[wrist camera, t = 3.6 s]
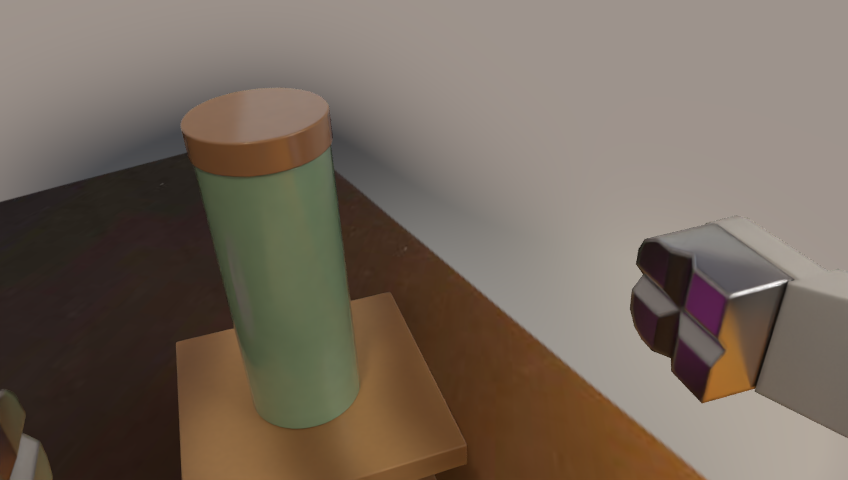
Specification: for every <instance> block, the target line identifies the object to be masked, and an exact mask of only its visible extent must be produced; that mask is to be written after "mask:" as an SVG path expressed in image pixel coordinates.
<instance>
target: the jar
mask: <svg viewBox="0 0 848 480" xmlns="http://www.w3.org/2000/svg"><path fill="white" fill-rule="evenodd" d="M181 130H182V134H183V138H184V142H185V146H186V150H187V154H188V158H189V160H190V162H191V163H192V164H193V166H194V170H195V174H196V178H197V182H198V186H199V190H200V194H201V198H202V202H203V206H204V210H205V214H206V218H207V222H208V226H209V230H210V234H211V238H212V242H213V246H214V250H215V254H216V258H217V262H218V266H219V270H220V274H221V278H222V282H223V286H224V290H225V294H226V298H227V302H228V306H229V310H230V314H231V318H232V322H233V326H234V330H235V334H236V338H237V342H238V346H239V351H240V355H241V359H242V363H243V367H244V371H245V375H246V379H247V383H248V387H249V391H250V395H251V399H252V403H253V406H254V408H255V410H256V412H257V413H258V414H259V415H260V416H261V417H262V418H263V419H264V420H266V421H267V422H269V423H271V424H273V425H276V426H279V427H283V428H289V429H304V428H311V427H315V426H319V425H322V424H325V423H327V422H329V421H331V420H333V419H335V418H337V417H338V416H340V415H341V414H342V413H344V412H345V411H346V410H347V409H348V408H349V407H350V406H351V405H352V404H353V402H354V401H355V399H356V397H357V395H358V393H359V389H360V383H361V382H360V372H359V364H358V356H357V349H356V341H355V333H354V325H353V317H352V309H351V301H350V293H349V285H348V277H347V269H346V261H345V253H344V245H343V237H342V229H341V221H340V213H339V205H338V197H337V189H336V181H335V173H334V166H333V157H332V149H331V143H332V139H333V134H332V126H331V118H330V110H329V105H328V103H327V101H326V100H325V99H324V98H322V97H321V96H319V95H317V94H315V93H312V92H309V91H304V90H299V89H290V88H261V89H252V90H245V91H239V92H235V93H230V94H227V95H223V96H220V97H216V98H214V99H211V100H208V101H206V102H204V103H202V104H200V105H198V106H196V107H195V108H193V109H191V110H190V111H189V112H188V113H187V114H186V115H185V116H184V117H183V119H182V121H181Z"/></svg>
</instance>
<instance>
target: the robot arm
mask: <svg viewBox="0 0 848 480" xmlns="http://www.w3.org/2000/svg"><path fill="white" fill-rule="evenodd" d="M636 265H637V266H638V268H639V269H640V270H641V272H642V273H643V275H642V277H641V278H640V279H639V281H638V282H637V284H636V285H635V286H634V288H633V289H632V294H631V304H630V310H631V314H632V318H633V323H634V326H635V328H636V330H637V332H638V334H639V336H640V337H641V339H642V340H643V341H644V342H645V344H646V345H647V346H648V347H649V348H650V349H651V350H652V351H654V352H657V353H659V354H662V355H664V356H667V357H669V358H671V371H672V372H673V374H674V375H675V376H676V377H678V379H679V380H680V381H681V382H682V383H683V384H684V385H685V386H686V387H687V388H688V389H689V390H690V391H691V392H692V393H693V394H694V395H695V396H696V397H697V399H698V400H699V401H700V402H701V403H705V402H709V401H712V400H716V399H719V398H723V397H726V396H730V395H733V394H737V393H741V392H744V391H748V390H751V389H755V388H756V389H755V392H757V393H759V394H761V395H763V396H765V397H767V398H769V399H771V400H773V401H775V402H777V403H779V404H781V405H783V406H785V407H787V408H789V409H791V410H793V411H795V412H797V413H799V414H801V415H803V416H805V417H807V418H809V419H811V420H813V421H815V422H817V423H819V424H821V425H823V426H825V427H827V428H829V429H831V430H833V431H835V432H837V433H839V434H841V435H843V436H845V437H847V438H848V272H847V271H844V270H840V269H836V270H832V271H828V270H826V269H825V268H823V267H821V266H820V265H818V264H817V263H815V262H814V261H812V260H811V259H809V258H808V257H806V256H805V255H803V254H801V253H800V252H799V251H797V250H796V249H794V248H793V247H791V246H790V245H788V244H787V243H785V242H784V241H782V240H780V239H779V238H777V237H776V236H774V235H773V234H771V233H770V232H768V231H767V230H765V229H764V228H762V227H761V226H759V225H758V224H756V223H755V222H753V221H751V220H750V219H748V218H745V217H741V216H732V217H728V218H724V219H720V220H717V221H713V222H709V223H706V224H705V225H702V226H697V227H693V228H689V229H685V230H681V231H677V232H672V233H669V234H664V235H660V236H656V237H652V238H647V239H645V240H644V241H643V243H642V245H641V247H640V248H639V250H638V256H637V261H636ZM25 416H26V413H25V411H24V409H23V407H22V406H21V404H20V402H19V400H18V398H17V397H16V395H15V393H14V392H11V391H9V390H6V389H3V390H0V480H53V479H52V472H51V469H50V465H49V462H48V458H47V455H46V453H45V451H44V449H43V447H42V445H41V443H40V441H39V440H37V439H34V438H32V437H30V436H28V435H26V434H24V433H22V431H23V426H24V421H25Z"/></svg>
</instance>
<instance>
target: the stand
mask: <svg viewBox="0 0 848 480" xmlns="http://www.w3.org/2000/svg"><path fill="white" fill-rule="evenodd" d="M351 309H352V317H353V325H354V333H355V341H356V349H357V356H358V364H359V372H360V382H361V383H360V389H359V393H358V395H357V397H356V399H355V401H354V402H353V404H352V405H351V406H350V407H349V408H348V409H347V410H346V411H345V412H344V413H342V414H341V415H340V416H338V417H337V418H335V419H333V420H331V421H329V422H327V423H325V424H322V425H319V426H315V427H311V428H304V429H289V428H283V427H279V426H276V425H273V424H271V423H269V422H267V421H266V420H264V419H263V418H262V417H261V416H260V415H259V414H258V413H257V412H256V410H255V408H254V406H253V403H252V399H251V395H250V391H249V387H248V383H247V379H246V375H245V371H244V367H243V363H242V359H241V355H240V351H239V346H238V342H237V338H236V334H235V330H234V329H230V330H225V331H221V332H217V333H213V334H208V335H204V336H200V337H196V338H191V339H187V340H183V341H179V342H176V360H177V384H178V407H179V430H180V453H181V476H182V480H436V477H435V475H434V474H437V473H440V472H443V471H446V470H450V469H453V468H456V467H459V466H462V465H466V464H467V444H466V442H465V440H464V438H463V436H462V434H461V432H460V430H459V428H458V426H457V424H456V422H455V420H454V418H453V416H452V414H451V412H450V410H449V408H448V406H447V404H446V402H445V400H444V398H443V396H442V394H441V392H440V390H439V388H438V386H437V384H436V382H435V380H434V378H433V376H432V374H431V372H430V370H429V368H428V366H427V364H426V362H425V360H424V358H423V356H422V354H421V352H420V350H419V348H418V346H417V344H416V342H415V340H414V338H413V336H412V334H411V332H410V330H409V328H408V326H407V324H406V322H405V320H404V318H403V316H402V314H401V312H400V310H399V308H398V306H397V304H396V302H395V300H394V298H393V296H392V294H391V293H390V292H387V293H383V294H379V295H374V296H370V297H366V298H361V299H357V300H353V301H351Z"/></svg>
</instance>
